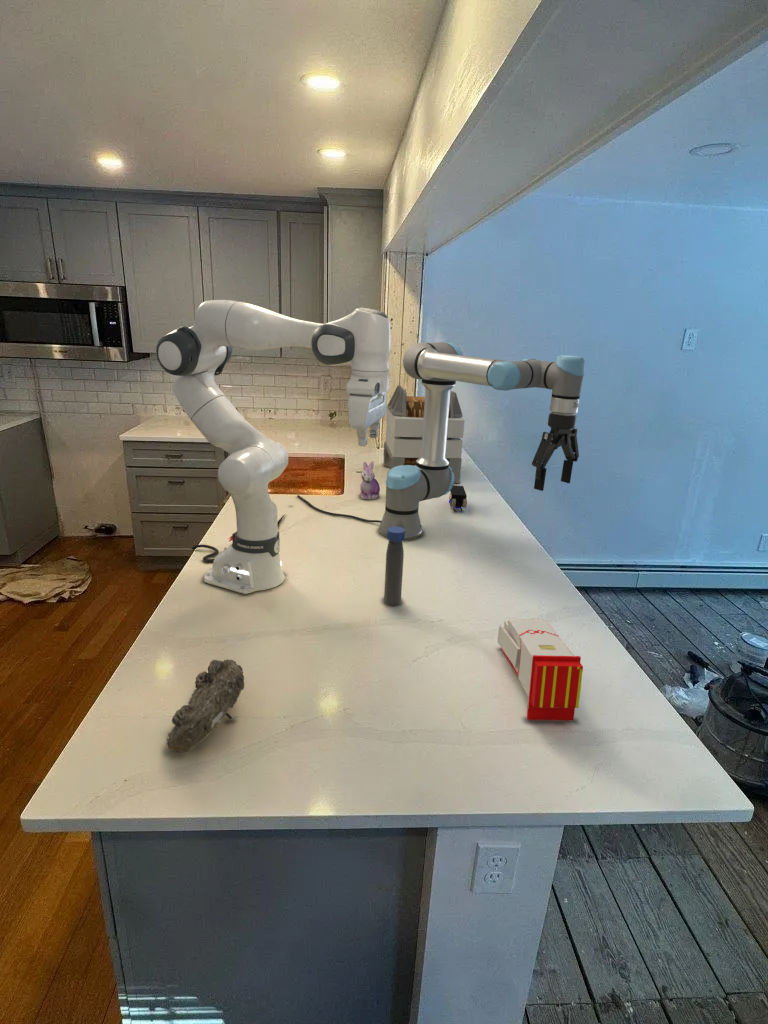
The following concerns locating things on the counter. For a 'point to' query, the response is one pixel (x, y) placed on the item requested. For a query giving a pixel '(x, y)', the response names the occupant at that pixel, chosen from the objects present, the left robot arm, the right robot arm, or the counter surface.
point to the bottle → (393, 573)
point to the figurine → (369, 483)
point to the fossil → (206, 705)
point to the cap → (396, 534)
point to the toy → (542, 668)
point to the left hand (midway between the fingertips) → (368, 441)
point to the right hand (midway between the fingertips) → (552, 485)
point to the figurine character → (458, 497)
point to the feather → (280, 520)
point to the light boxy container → (419, 431)
